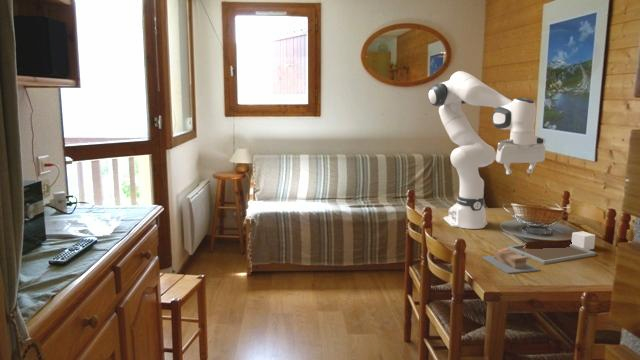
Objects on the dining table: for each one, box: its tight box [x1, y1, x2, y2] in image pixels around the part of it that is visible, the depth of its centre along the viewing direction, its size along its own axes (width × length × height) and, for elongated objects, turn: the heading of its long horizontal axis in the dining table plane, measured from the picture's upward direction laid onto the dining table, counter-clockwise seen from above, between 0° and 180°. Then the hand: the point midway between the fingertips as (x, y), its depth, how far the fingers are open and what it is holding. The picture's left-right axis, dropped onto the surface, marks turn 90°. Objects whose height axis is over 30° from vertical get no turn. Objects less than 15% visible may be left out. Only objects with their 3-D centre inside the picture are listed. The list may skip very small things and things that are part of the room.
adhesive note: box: [571, 230, 596, 251], centre depth 200 cm, size 6×6×6 cm
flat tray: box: [506, 243, 597, 265], centre depth 194 cm, size 19×2×30 cm
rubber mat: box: [481, 255, 541, 275], centre depth 181 cm, size 17×13×1 cm
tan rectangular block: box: [494, 247, 527, 269], centre depth 181 cm, size 11×5×4 cm, turn 20°
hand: (519, 173), depth 194 cm, fingers open, 8 cm apart
